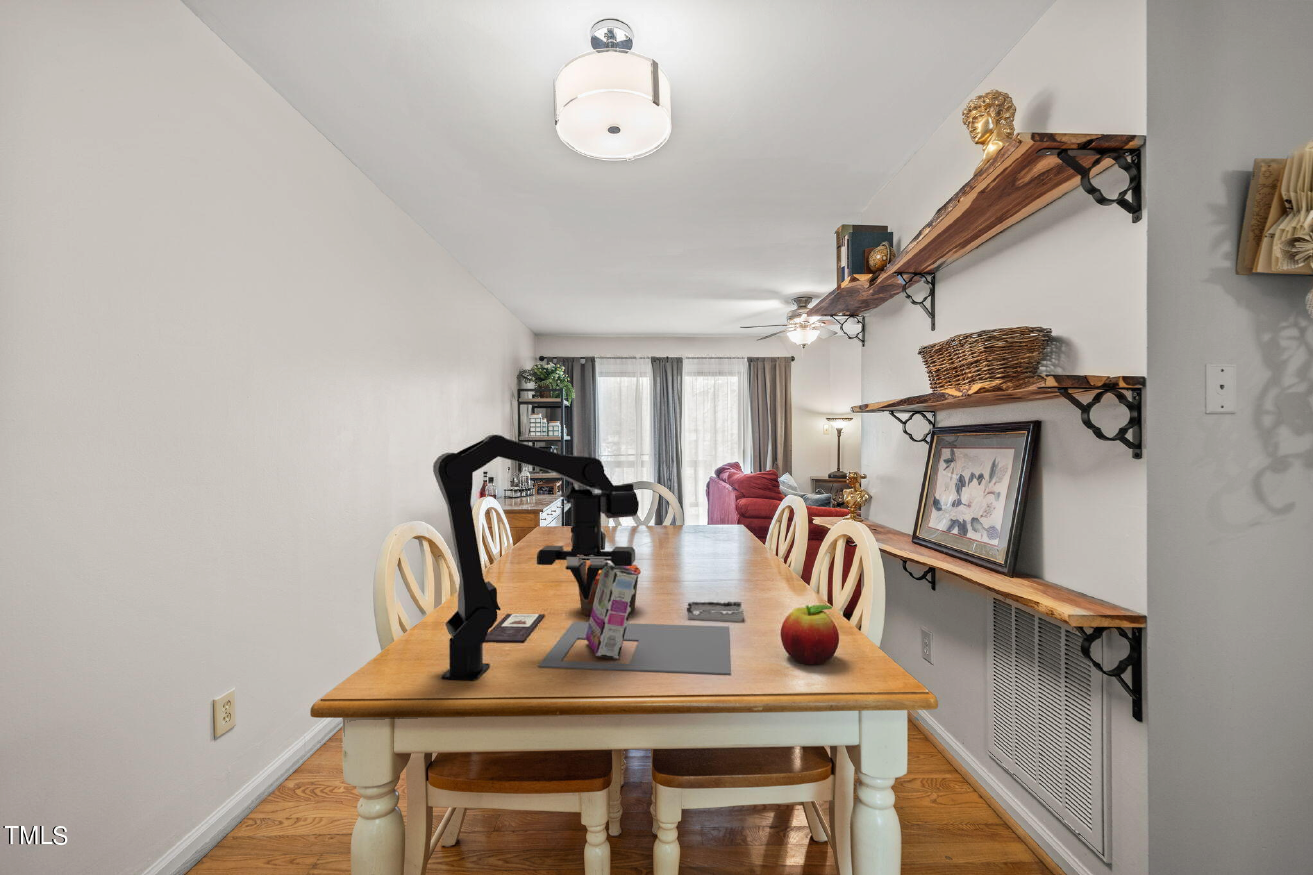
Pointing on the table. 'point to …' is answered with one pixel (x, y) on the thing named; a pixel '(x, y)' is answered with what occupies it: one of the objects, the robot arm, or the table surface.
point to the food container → (588, 604)
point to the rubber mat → (656, 649)
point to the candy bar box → (611, 610)
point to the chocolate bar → (514, 628)
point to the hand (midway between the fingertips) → (587, 599)
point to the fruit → (810, 635)
